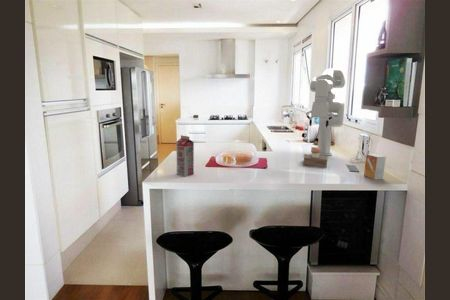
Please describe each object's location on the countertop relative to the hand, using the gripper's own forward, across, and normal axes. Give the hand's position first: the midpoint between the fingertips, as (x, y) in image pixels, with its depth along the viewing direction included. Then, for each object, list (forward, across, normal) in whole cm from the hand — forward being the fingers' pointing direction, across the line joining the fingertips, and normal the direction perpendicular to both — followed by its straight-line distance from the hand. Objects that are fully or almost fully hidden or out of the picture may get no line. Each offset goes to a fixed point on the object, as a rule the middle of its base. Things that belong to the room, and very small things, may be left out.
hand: (318, 126), depth 185 cm
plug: (+25, 0, 0) cm, 25 cm away
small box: (+26, -32, +17) cm, 45 cm away
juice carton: (+28, +72, +49) cm, 91 cm away
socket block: (+26, 0, 0) cm, 26 cm away
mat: (+26, -20, 0) cm, 32 cm away
